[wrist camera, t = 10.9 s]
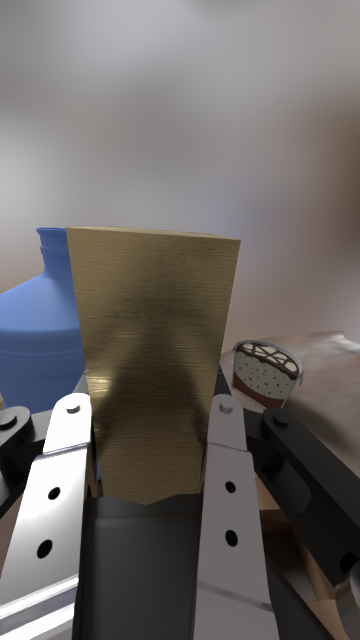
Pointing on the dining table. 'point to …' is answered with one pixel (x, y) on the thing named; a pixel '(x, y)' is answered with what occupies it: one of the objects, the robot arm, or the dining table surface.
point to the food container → (265, 372)
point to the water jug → (41, 333)
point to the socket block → (324, 591)
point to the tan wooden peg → (151, 350)
